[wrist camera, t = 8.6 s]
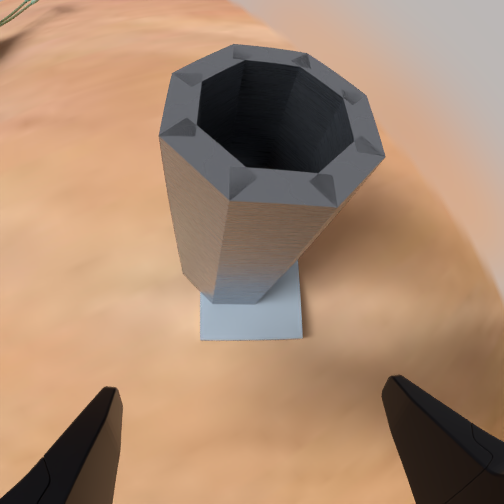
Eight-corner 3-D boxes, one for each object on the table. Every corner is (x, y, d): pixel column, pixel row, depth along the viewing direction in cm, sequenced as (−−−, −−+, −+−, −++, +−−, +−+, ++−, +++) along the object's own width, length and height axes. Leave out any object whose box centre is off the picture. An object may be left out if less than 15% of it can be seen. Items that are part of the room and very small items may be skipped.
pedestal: (299, 338, 19) (318, 333, 16) (200, 340, 18) (199, 336, 15) (288, 181, 23) (301, 153, 20) (204, 176, 22) (205, 147, 19)
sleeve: (284, 304, 19) (399, 213, 8) (182, 303, 18) (148, 198, 7) (279, 213, 21) (354, 63, 10) (186, 209, 20) (179, 42, 9)
